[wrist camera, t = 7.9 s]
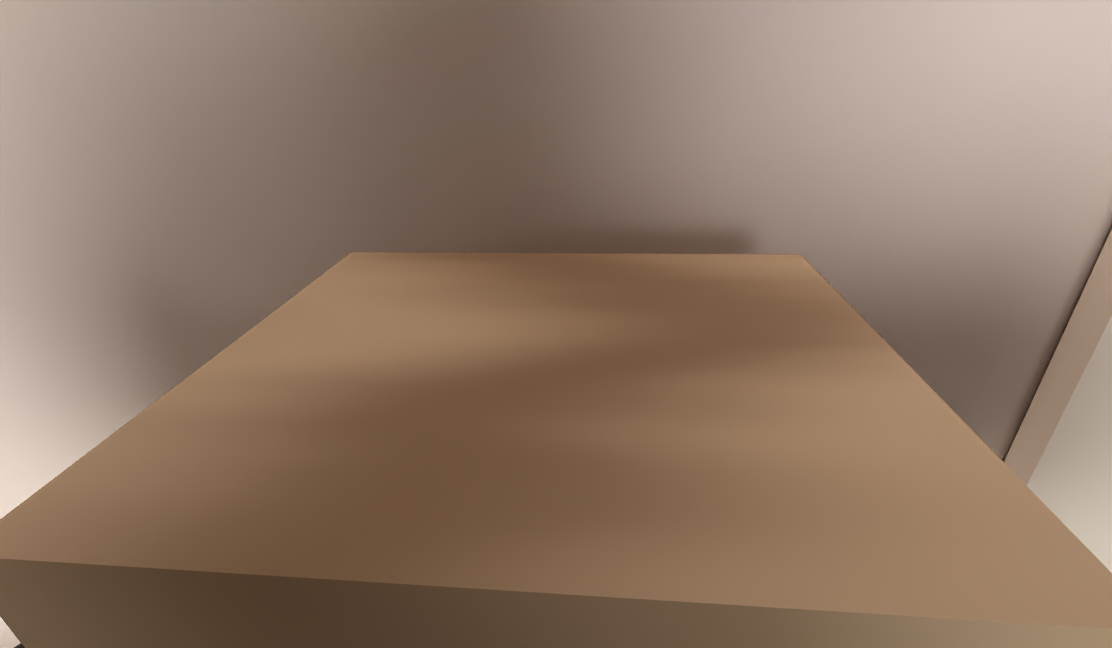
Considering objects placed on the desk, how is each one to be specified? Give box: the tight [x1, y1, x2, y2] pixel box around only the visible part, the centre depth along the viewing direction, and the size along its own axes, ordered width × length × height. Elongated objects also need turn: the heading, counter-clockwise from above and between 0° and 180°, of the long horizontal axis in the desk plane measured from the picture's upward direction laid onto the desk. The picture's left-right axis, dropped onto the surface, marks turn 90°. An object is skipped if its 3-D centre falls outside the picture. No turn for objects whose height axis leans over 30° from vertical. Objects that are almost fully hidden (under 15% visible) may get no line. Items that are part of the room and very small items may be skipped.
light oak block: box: [0, 252, 1112, 648], centre depth 6 cm, size 6×6×5 cm
